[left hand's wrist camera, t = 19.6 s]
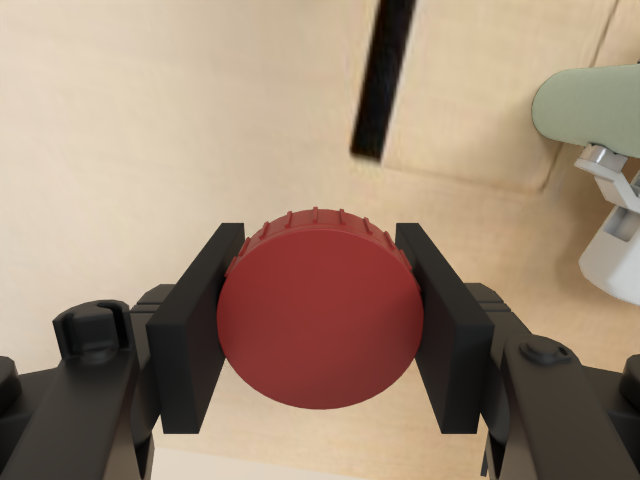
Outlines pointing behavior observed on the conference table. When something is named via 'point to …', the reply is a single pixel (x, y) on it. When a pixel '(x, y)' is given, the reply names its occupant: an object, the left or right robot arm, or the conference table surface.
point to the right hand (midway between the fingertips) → (617, 104)
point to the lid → (320, 310)
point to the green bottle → (592, 108)
